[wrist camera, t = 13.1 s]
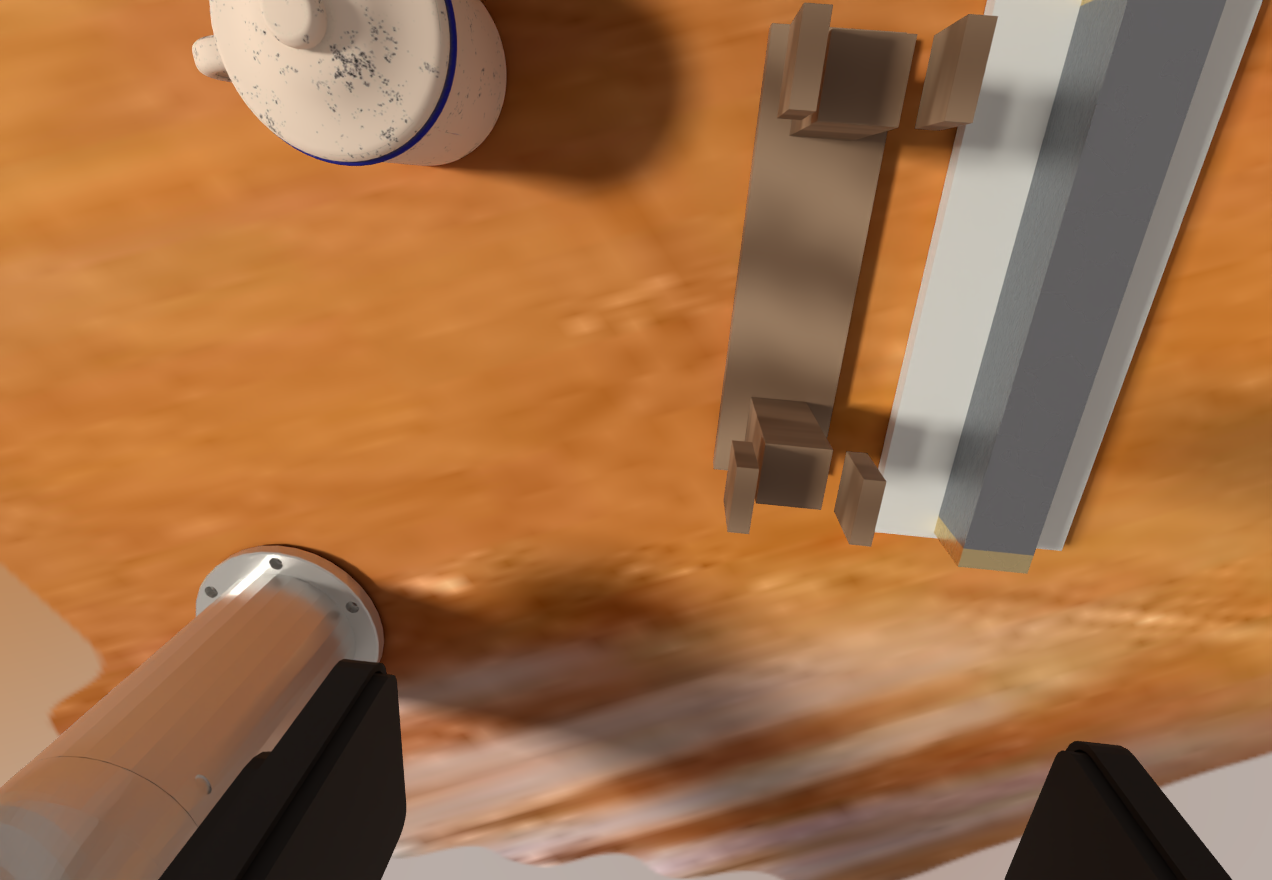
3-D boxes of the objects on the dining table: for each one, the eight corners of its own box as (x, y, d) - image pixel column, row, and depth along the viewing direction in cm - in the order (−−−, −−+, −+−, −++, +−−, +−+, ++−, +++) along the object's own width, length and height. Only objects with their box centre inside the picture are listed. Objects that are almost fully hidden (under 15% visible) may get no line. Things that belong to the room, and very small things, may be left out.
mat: (1052, 542, 38) (1061, 550, 37) (865, 523, 39) (869, 531, 38) (1252, -19, 28) (1272, -26, 27) (995, -36, 29) (1005, -43, 28)
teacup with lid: (500, -50, 30) (393, -187, 19) (524, 165, 33) (444, 153, 22) (253, -26, 31) (18, -142, 20) (300, 180, 34) (120, 176, 23)
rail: (996, 539, 37) (1027, 573, 34) (933, 532, 38) (958, 566, 34) (1175, -19, 27) (1242, -47, 24) (1088, -24, 28) (1143, -54, 24)
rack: (815, 472, 38) (863, 577, 28) (713, 462, 38) (723, 562, 28) (899, 37, 30) (1012, -42, 20) (769, 28, 30) (812, -55, 20)
